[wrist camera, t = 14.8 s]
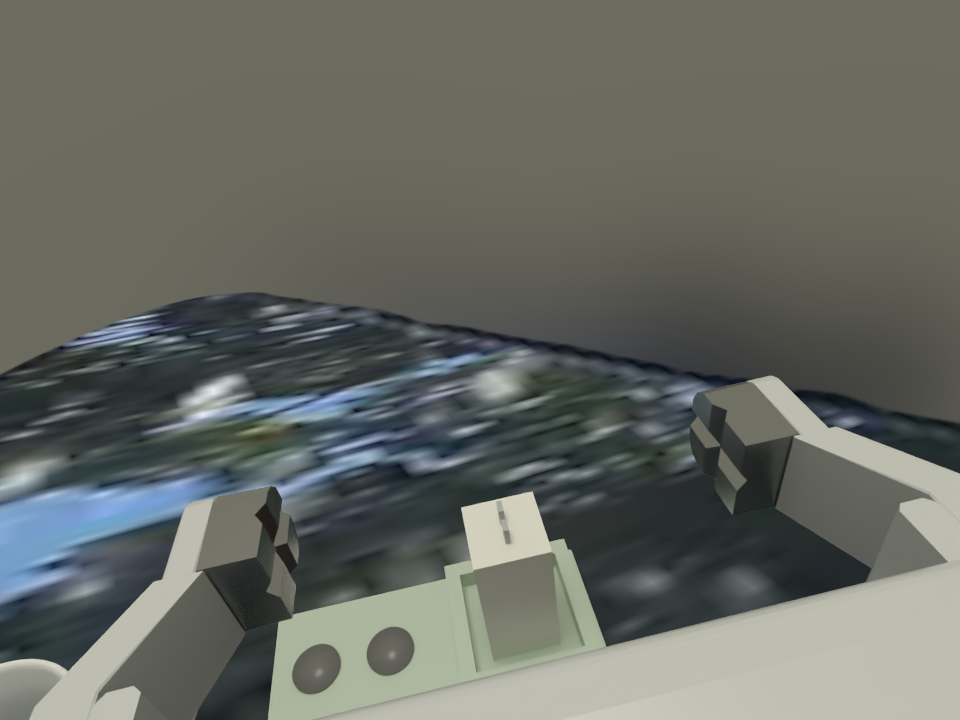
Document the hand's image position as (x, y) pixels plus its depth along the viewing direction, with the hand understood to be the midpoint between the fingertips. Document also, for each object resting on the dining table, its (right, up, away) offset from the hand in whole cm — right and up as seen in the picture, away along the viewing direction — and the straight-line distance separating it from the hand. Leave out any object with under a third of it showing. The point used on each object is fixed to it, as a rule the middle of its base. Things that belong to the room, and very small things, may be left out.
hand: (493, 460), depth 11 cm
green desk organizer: (-3, -19, +30) cm, 35 cm away
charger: (+2, -16, +29) cm, 33 cm away
